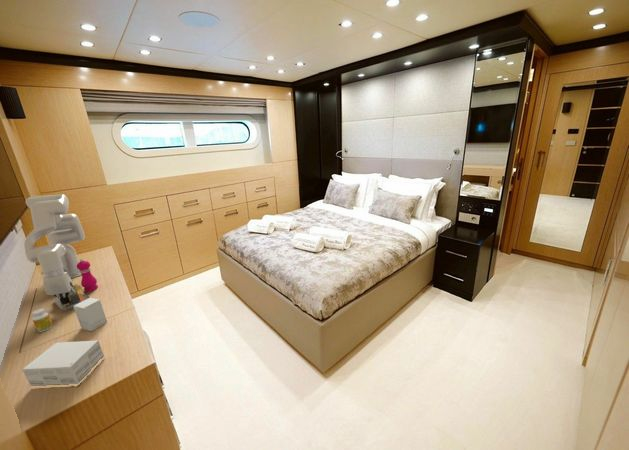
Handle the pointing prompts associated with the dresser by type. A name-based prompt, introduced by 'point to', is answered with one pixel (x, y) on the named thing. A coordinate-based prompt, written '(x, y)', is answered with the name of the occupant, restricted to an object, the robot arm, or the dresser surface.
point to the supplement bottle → (41, 320)
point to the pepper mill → (87, 276)
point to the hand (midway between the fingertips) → (66, 303)
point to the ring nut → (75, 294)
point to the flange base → (70, 302)
